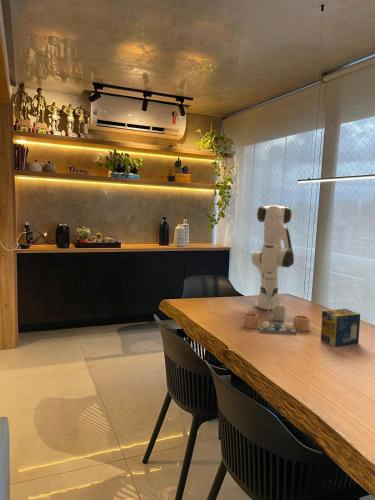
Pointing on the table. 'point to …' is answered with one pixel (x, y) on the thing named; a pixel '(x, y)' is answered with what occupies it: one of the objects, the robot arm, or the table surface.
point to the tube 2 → (301, 323)
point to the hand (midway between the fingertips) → (268, 298)
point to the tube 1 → (251, 320)
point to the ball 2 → (277, 325)
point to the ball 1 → (266, 325)
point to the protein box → (340, 327)
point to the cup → (278, 312)
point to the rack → (279, 331)
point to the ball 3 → (288, 326)
